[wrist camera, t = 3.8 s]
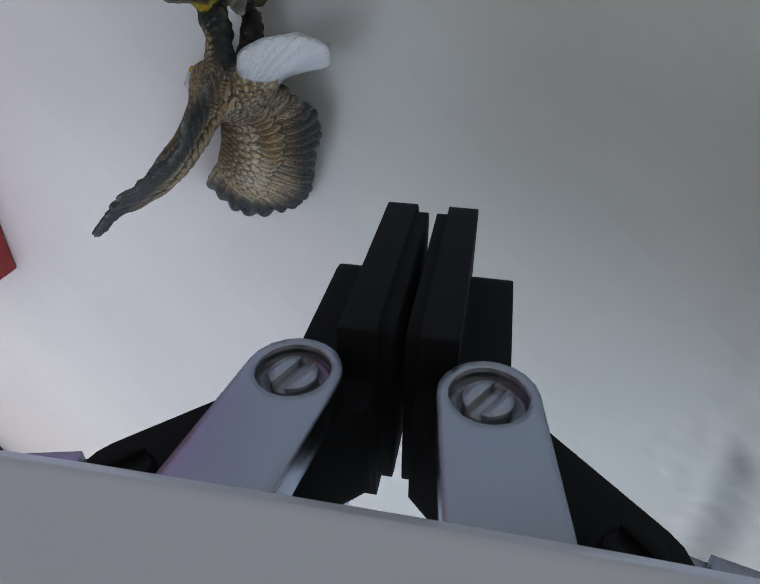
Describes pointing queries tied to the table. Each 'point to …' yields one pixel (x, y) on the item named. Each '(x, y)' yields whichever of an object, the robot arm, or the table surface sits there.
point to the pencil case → (5, 258)
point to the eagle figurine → (240, 118)
